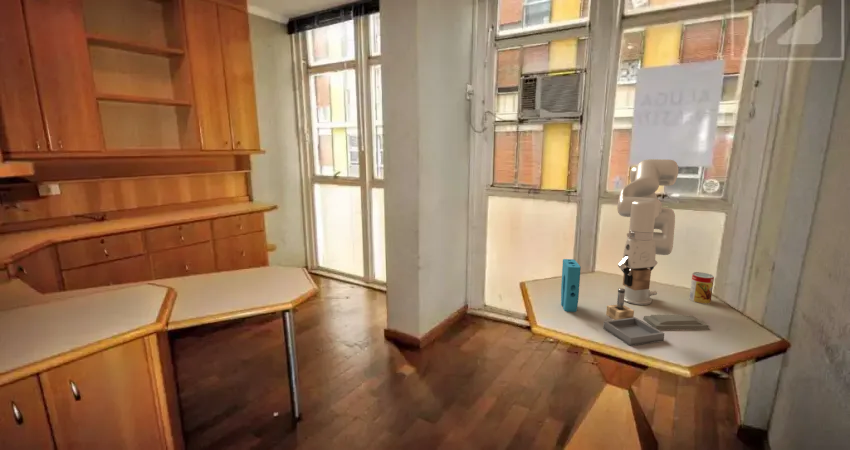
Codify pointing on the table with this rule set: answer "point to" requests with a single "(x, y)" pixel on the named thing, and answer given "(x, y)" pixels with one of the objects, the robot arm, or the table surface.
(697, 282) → the canned food
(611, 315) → the oak block
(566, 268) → the block
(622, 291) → the gauge pin
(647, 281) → the walnut block
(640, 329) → the tray
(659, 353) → the table surface
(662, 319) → the soap mold
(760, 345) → the table surface
